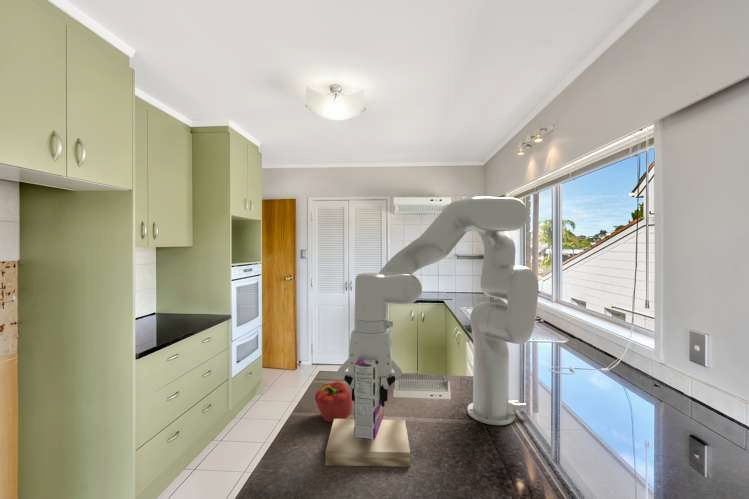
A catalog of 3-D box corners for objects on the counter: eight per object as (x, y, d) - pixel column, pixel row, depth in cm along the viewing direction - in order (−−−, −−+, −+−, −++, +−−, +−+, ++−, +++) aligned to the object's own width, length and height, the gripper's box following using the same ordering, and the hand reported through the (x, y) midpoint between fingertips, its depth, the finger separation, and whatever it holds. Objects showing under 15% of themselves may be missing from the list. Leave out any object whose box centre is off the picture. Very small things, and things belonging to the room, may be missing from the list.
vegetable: (335, 433, 84) (336, 393, 84) (304, 422, 90) (305, 384, 90) (360, 416, 94) (360, 379, 94) (331, 406, 99) (331, 372, 99)
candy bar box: (364, 414, 85) (365, 349, 85) (383, 416, 84) (384, 350, 84) (352, 438, 74) (353, 363, 74) (374, 441, 73) (376, 365, 73)
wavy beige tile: (404, 431, 86) (404, 419, 86) (410, 466, 72) (410, 452, 72) (333, 430, 86) (334, 418, 86) (325, 465, 72) (325, 450, 72)
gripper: (405, 323, 83) (405, 397, 83) (335, 322, 83) (334, 396, 83) (408, 330, 75) (407, 412, 75) (331, 329, 75) (330, 410, 75)
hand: (369, 403), depth 79 cm, fingers closed on candy bar box, 5 cm apart
